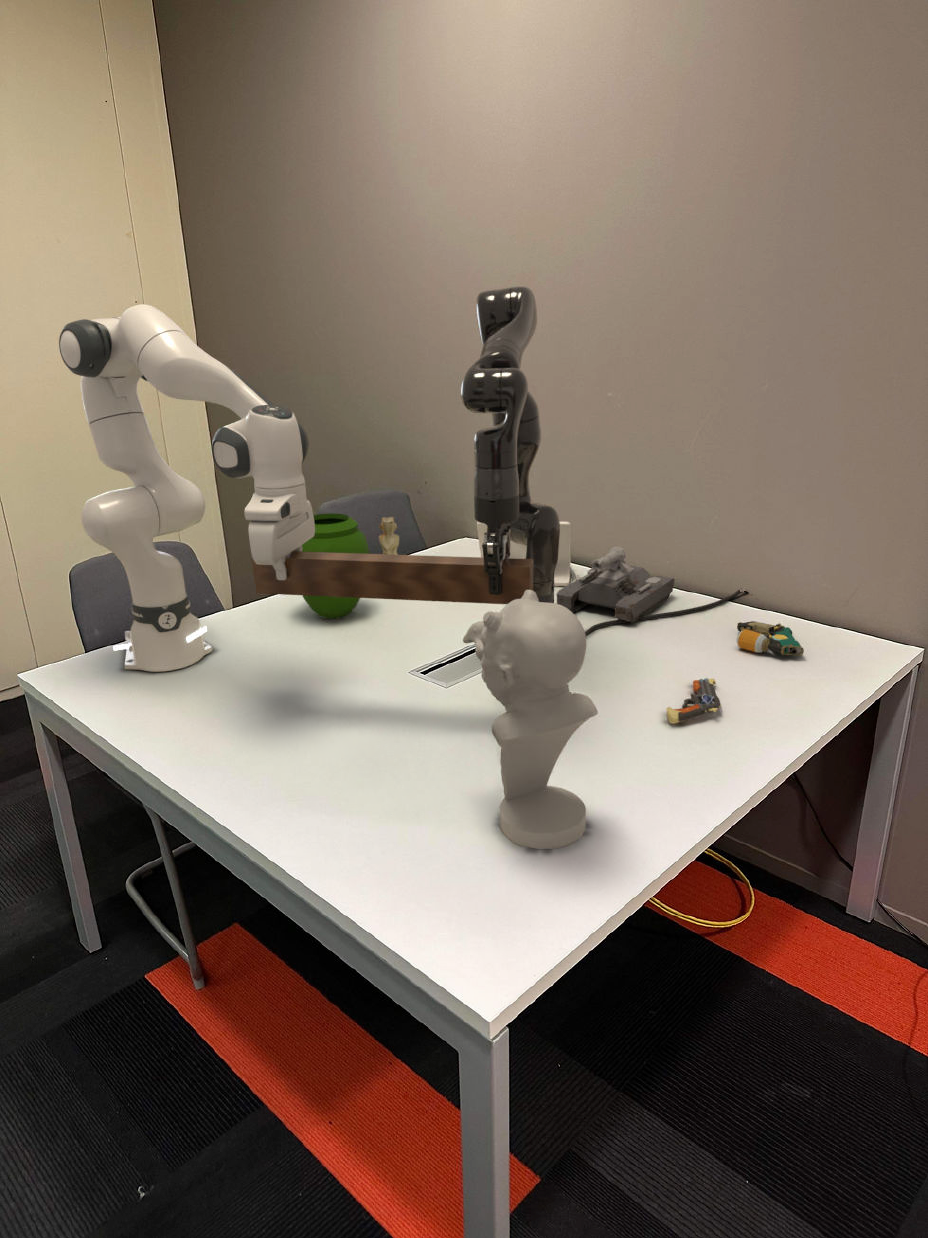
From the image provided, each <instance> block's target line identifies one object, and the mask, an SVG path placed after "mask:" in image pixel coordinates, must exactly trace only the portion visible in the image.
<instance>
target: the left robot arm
mask: <svg viewBox="0 0 928 1238" xmlns="http://www.w3.org/2000/svg"><path fill="white" fill-rule="evenodd" d="M58 349H59V352H60V356H61V359H62V361H63V363H64V364H65V366H66V367H67V369H68V370H69V371H70V372H71V373H72V374H74V375H77V376H79V377H81V379H80V390H81V391H80V392H81V397H82V403H83V408H84V413H85V416H86V417H85V418H86V421H87V424H88V427H89V430H90V434H91V437H92V439H93V442H94V446H95V449H96V453H97V455H98V459H99V460H100V462H102V464H104V465H105V466H106V467H107V468H109V469H110V470H114V471H117V472H121V473H123V474H124V475H126V476H127V477H128V478H129V479H130V480H131V481H132V483H133V485H134V486H129V487H125V488H119V489H114V490H109V491H106V492H104V493H101V494H98V495H96V496H94V497H91V498H89V499H87V500H86V502H85V503H84V505H83V508H82V510H81V524H82V526H83V529H84V532H85V533H86V535H87V536H88V537H89V538H90V539H91V540H92V541H93V542H94V543H95V544H98V545H100V546H102V547H104V548H106V549H107V550H109V551H110V552H111V553H112V554H114V555H115V556H116V558H117V559H118V560H119V561H120V563H121V564H122V566H123V568H124V571H125V573H126V578H127V580H128V584H129V589H130V594H131V599H132V601H131V603H130V605H131V608H130V610H131V615H132V619H133V621H132V624H131V626H130V630H125V631H124V638H125V642H127V643H125V644H118V645H114V646H112V648H113V651H119V650H125V658H124V670H130V671H131V670H139V671H144V672H153V673H159V672H169V671H175V670H176V671H177V670H179V669H184V668H187V667H190V666H192V665H194V664H196V663H197V662H199V661H200V660H201V659H203V657H205V656H206V655H209V654H210V653H212V652H213V650H214V649H213V646H212V645H211V644H209V643H207V642H205V641H204V637H203V634H204V633H207V632H208V629H207V626H203V627H201V622H200V621H201V620H200V619H199V617H197V616H196V615H195V614H193V613H191V612H192V610H191V609H192V608H191V601H190V598H189V594H187V591H186V583H185V578H184V572H183V565H182V563H181V562H180V560H179V559H178V558H177V557H175V556H174V555H172V554H170V553H167V552H164V551H160V550H157V549H156V547H155V545H154V538H156V537H160V536H164V535H169V534H173V533H178V532H182V531H184V530H186V529H188V528H191V527H193V526H194V525H196V524H198V523H200V522H201V521H202V520H203V517H204V514H205V511H206V503H205V497H204V495H203V493H202V491H201V490H200V488H199V487H198V486H197V485H196V484H195V483H194V482H192V481H191V480H189V479H186V478H185V477H183V476H181V475H179V474H178V473H177V472H175V471H174V470H173V468H171V466H169V465H168V463H167V462H166V461H165V460H164V459H163V457H162V456H161V454H160V452H159V450H158V448H157V446H156V444H155V442H154V441H155V440H154V438H153V436H152V432H151V430H150V428H149V425H148V420H147V418H146V415H145V412H144V408H143V405H142V403H141V400H140V397H139V393H138V383H139V382H140V379H142V380H143V381H145V382H148V383H149V384H150V385H151V386H152V387H153V388H154V389H156V390H157V391H158V392H160V393H161V394H163V395H164V396H167V397H168V398H172V399H176V400H182V401H183V400H185V401H195V402H196V401H197V402H206V403H212V404H216V405H220V406H223V407H224V408H227V409H229V410H230V411H232V412H234V414H235V415H237V416H238V417H239V418H240V419H239V420H236V421H234V422H232V423H230V424H227V425H225V426H222V427H220V428H218V429H217V430H216V432H215V433H214V435H213V438H212V443H211V455H212V459H213V462H214V464H215V466H216V467H217V469H218V470H219V471H220V472H221V473H222V474H224V475H225V476H227V477H228V478H231V479H244V478H245V479H246V478H250V477H251V478H253V480H254V481H253V483H254V484H253V486H254V487H253V488H254V493H253V494H252V497H251V499H250V501H249V502H248V504H247V505H246V506H245V508H244V512H243V513H244V518H245V520H246V521H249V523H248V527H247V528H248V529H247V530H248V531H247V532H248V539H249V547H250V552H251V559H252V558H253V560H254V561H255V563H256V564H258V565H273V567H274V569H275V571H276V578H277V579H278V580H285V579H287V578H288V577H289V574H288V569H286V567H285V564H284V562H285V556H287V555H288V554H289V553H291V552H292V551H296V552H302V550H303V549H302V544H304V543H305V542H307V541H308V540H309V539H311V538H312V537H314V534H315V523H314V516H313V515H314V512H313V506H312V503H311V501H310V500H309V499H308V498H307V488H306V487H307V486H306V479H305V476H304V474H303V470H302V469H303V468H302V466H303V465H302V464H303V463H304V462H305V460H306V458H307V455H308V452H309V445H310V443H309V437H308V434H307V432H306V430H305V428H304V427H303V425H302V424H301V423H300V422H299V420H298V419H297V417H296V416H295V413H294V411H292V410H291V409H289V408H288V407H285V406H282V405H277V404H276V405H275V404H273V403H272V402H271V401H270V400H268V399H267V398H266V396H264V395H263V394H262V393H261V392H260V391H258V389H256V388H255V387H254V386H253V385H252V384H251V383H249V382H248V381H247V380H246V379H245V378H244V377H243V376H241V374H239V373H238V372H237V371H236V370H234V369H233V368H232V367H229V366H228V365H226V364H225V363H223V362H221V361H219V360H218V359H216V358H214V357H213V356H211V355H210V354H208V353H207V352H205V351H204V350H203V349H202V348H201V347H199V346H198V344H196V343H195V342H193V340H192V339H191V338H190V337H189V336H188V335H187V334H186V333H185V331H184V330H183V329H182V328H181V327H180V326H179V325H178V324H177V323H176V322H174V321H173V320H172V319H171V317H169V316H168V315H166V313H164V312H163V311H161V310H159V309H158V308H156V307H155V306H153V305H150V304H143V303H142V304H135V305H133V306H131V307H129V308H127V309H126V310H124V312H123V313H122V314H121V316H113V317H110V318H109V317H106V318H95V319H85V318H83V319H78V320H74V321H71V322H68V323H67V324H65V325H64V327H63V328H62V330H61V332H60V334H59V339H58Z"/></svg>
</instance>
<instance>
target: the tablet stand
mask: <svg viewBox="0 0 928 1238" xmlns="http://www.w3.org/2000/svg"><path fill="white" fill-rule="evenodd" d="M476 531H477V537H478V544H479V551H480V557H482V558H484V557H483V547H482V544H483V542H484V533H485V532H486V533H487V525H486V524H484V523H479V522H478V521H476ZM526 550H527V546H524V545H521V544H517V543H514V542H512V541H510V557H508V558H513V559H526ZM571 560H572V558H571V522H569V521H560V537H559V552H558V562H557V565H556V568H555V572H554V587H556V586H557V587H566V586H567V585H569V584H570V580H571V579H570V578H571V565H572V564H571Z"/></svg>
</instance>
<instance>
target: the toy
mask: <svg viewBox="0 0 928 1238" xmlns="http://www.w3.org/2000/svg"><path fill="white" fill-rule="evenodd" d="M626 557H627V556H626V551H625V549H624V548H622V547H621V546H614V547H612V548H611V549H610V550H609V552H608V553H607V554H605V555H604V556H601V557H599V558H598V559H597V557H596V558H594V559H593V560H592V561H590V562H589V563H590V564H591V565H592V567H591V568H590V569H589V570H587V573H586V575H584V576H582V577H580V578H578V579H577V580H575V581H573V582H570V583H569V585H567V586H563V587H562V588H560V589H559V590H558V591H557V592H556V604H559V605H562V606H564V607H566V608H567V609H569V610H570V611H571V612H572V613H575V612H577V611H579V610H581V609H582V608H585V607H586V606H588V605H592V606H598V607H602V608H603V607H604V608H609V609H613V610H614V618H615V619H616V620H619V619H621V620H623V621H625V623H631V624H634V623H635V622H637V621H639V620H638V618H639V616H646V615H648V613H650V612H651V611H652V610H654V609H655V608H657V607H659V606H660V605H661V604H663V603H664V602H666V601H667V600H669V598H670V596H671V594H672V593H673V591H674V585H675V580H676V579H675V578H673V577H668V576H663V575H656V576H655V577H654V576H651V574H650V573H649V572H648V571H647V570H646V568H644V567H641V566H635V565H629V564H628V563H627V562H626V561H625V559H626ZM636 620H637V621H636Z"/></svg>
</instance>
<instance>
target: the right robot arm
mask: <svg viewBox="0 0 928 1238" xmlns="http://www.w3.org/2000/svg"><path fill="white" fill-rule="evenodd" d="M475 309H476V310H475V311H476V320H477V327H478V332H479V338H480V343H481V348H482V349H481V352H480V355H479V358H478V359H477V360H476V361H475V362H474V363H473V364H472V365H471V366H470V367H469V368H468V369H467V371H466V372H465V375H464V376H463V379H462V382H461V387H460V398H461V402H462V403H463V405H464V407H465V408H466V409H467V410H468V411H469V412H471V413H474V414H480V415H481V414H483V415H484V414H491V418H492V426H490V427H485V428H482V429H479V430H477V431H476V432H475V434H474V437H473V438H474V439H473V453H474V473H473V506H474V507H473V509H474V520H475V521H476V522H479V523H484V524H486V525H487V533H486V532H485V533H484V542H483V544H482V547H483V557H484V567H485V569H484V571H485V573H487V574H489V593H490V594H491V595H500V594H501V593H502V572H503V569H502V564H503V560H505V558H508V557H510V541H512V542H514V543H517V544H521V545H524V546H527V550H526V559H533V591H534V592H535V593H536V595H537V597H538V599H539V602H545V603H555V586H554V572H555V568H556V565H557V562H558V552H559V537H560V522H561V521H560V516H559V514H558V511H557V510H556V509H555V508H554V507H553V506H551V505H548V504H543V503H539V502H536V501H535V502H534V501H532V498H531V491H530V472H531V468H532V467H533V463H534V461H535V459H536V456H537V454H538V452H539V449H540V446H541V443H542V442H541V440H542V430H541V420H540V412H539V406H538V404H537V401H536V400H535V398H534V397H533V395H532V394H531V392H530V391H529V383H528V379H527V377H526V375H525V373H524V372H523V370H521V366H522V359H523V355H524V353H525V351H526V349H527V348H528V345H529V344H530V342H531V341H532V338H533V336H534V335H535V332H536V330H537V324H538V309H537V302H536V297H535V295H534V292H533V291H532V289H531V288H530V287H527V286H525V285H523V286H522V285H517V286H510V287H503V288H502V287H501V288H496V289H490V290H483V291H481V292H479V293H478V294H477V297H476V302H475ZM491 563H495V564H496V566H491ZM747 591H748V590H747ZM747 591H744V592H743V593H744V594H746V595H748V594H750V592H749V591H748V592H747ZM740 594H742V592H740V590H739V589H738V590H737V591H735V592H734V593H732V594H730V595H728V596H726V597H723V598H721V599H719V600H716V601H714V602H710V603H707V604H704V605H699V606H695V607H691V608H687V609H681V610H674V611H668V612H660V613H654V614H645V615H644V616H639V618H638V620H636V621H635V622H637V621H644V620H652V619H659V618H664V617H672V616H678V615H685V614H691V613H694V612H700V611H703V610H707V609H710V608H713V607H717V606H719V605H721V604H724V603H726V602H729V601H730V600H733V599H735V598H736V597H737V596H739V595H740ZM625 623H626V622H625V621H623V620H621V619H619V620H618V619H613V620H607V621H604V622H603V621H602V622H600V623H596V624H593V625H592V626H591V627H589V628H588V629H587V630H586V631H585V635H586V637H588V635H590V634H591V633H593V631H595V630H597V629H599V628H603V627H606V626H612V625H619V624H625Z"/></svg>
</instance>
